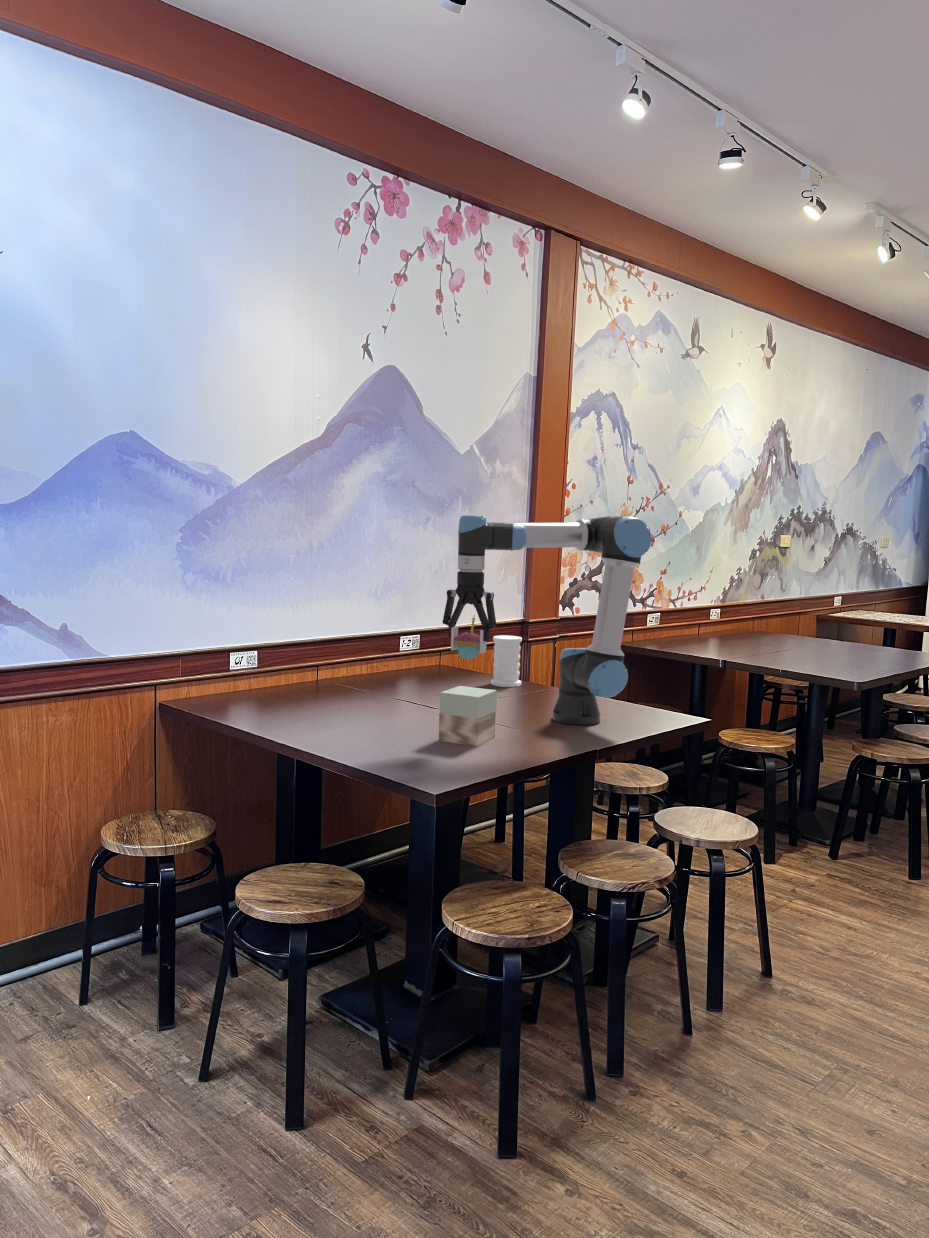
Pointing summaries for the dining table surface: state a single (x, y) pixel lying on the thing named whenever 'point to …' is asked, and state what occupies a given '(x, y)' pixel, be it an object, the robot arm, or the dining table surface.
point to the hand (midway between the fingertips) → (468, 651)
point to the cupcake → (468, 643)
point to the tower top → (468, 702)
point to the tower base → (466, 729)
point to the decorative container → (506, 661)
